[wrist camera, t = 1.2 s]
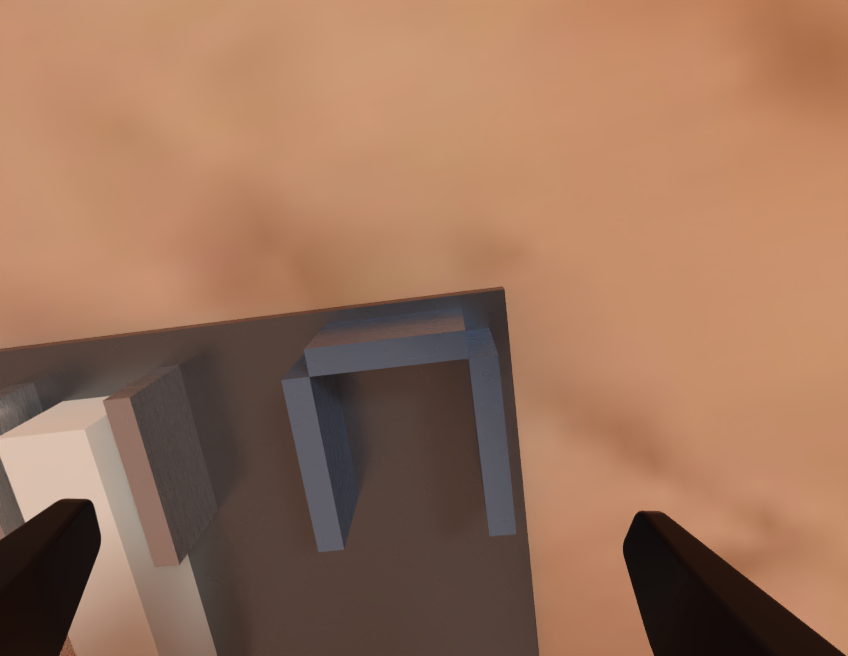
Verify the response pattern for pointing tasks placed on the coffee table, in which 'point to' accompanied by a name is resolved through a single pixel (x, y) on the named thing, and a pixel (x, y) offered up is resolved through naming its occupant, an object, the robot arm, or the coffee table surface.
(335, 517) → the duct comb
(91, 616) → the long cream bar
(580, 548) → the coffee table surface
